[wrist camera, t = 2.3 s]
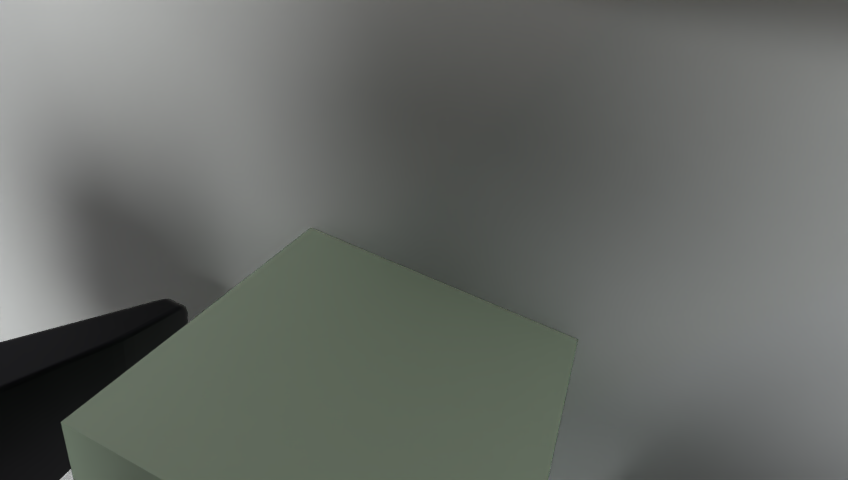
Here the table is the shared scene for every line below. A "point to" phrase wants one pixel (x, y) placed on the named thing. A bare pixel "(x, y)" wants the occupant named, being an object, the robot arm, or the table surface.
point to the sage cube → (333, 383)
